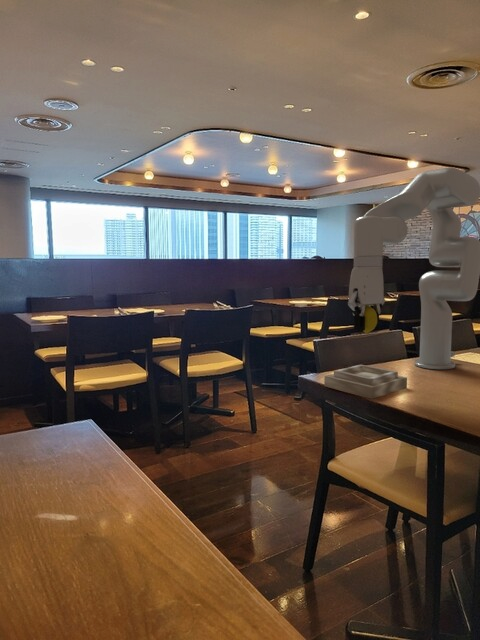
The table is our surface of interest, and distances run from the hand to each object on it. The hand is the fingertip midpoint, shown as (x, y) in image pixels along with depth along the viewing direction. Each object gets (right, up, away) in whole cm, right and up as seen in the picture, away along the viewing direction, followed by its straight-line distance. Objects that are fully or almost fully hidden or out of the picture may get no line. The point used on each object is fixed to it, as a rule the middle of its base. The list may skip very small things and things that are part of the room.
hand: (366, 328), depth 127 cm
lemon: (0, -2, 0) cm, 2 cm away
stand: (0, -17, +2) cm, 17 cm away
